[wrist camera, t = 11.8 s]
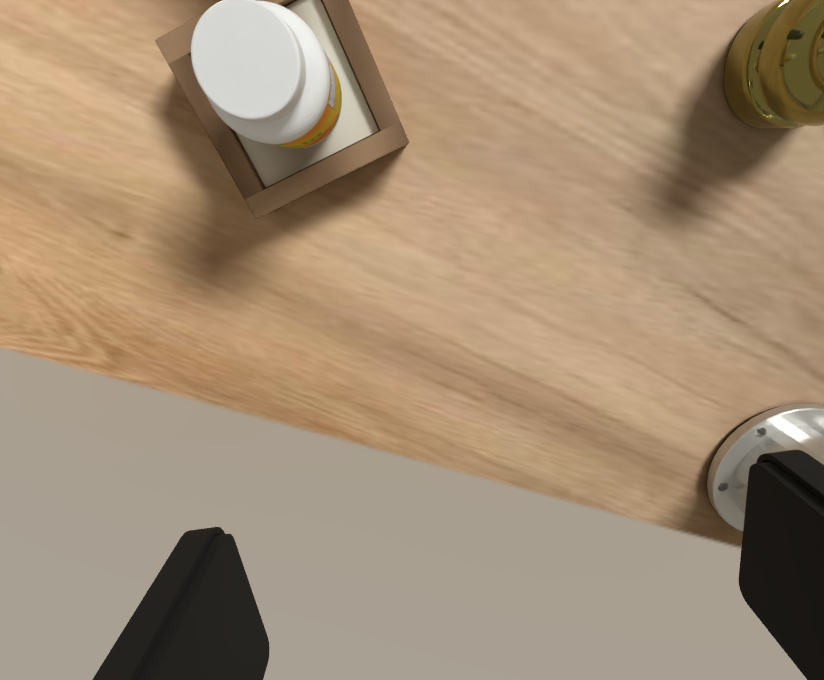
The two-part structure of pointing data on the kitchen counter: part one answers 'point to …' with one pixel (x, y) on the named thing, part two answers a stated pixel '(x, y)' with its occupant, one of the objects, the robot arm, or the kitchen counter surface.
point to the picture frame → (324, 162)
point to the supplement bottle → (266, 73)
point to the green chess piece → (779, 66)
